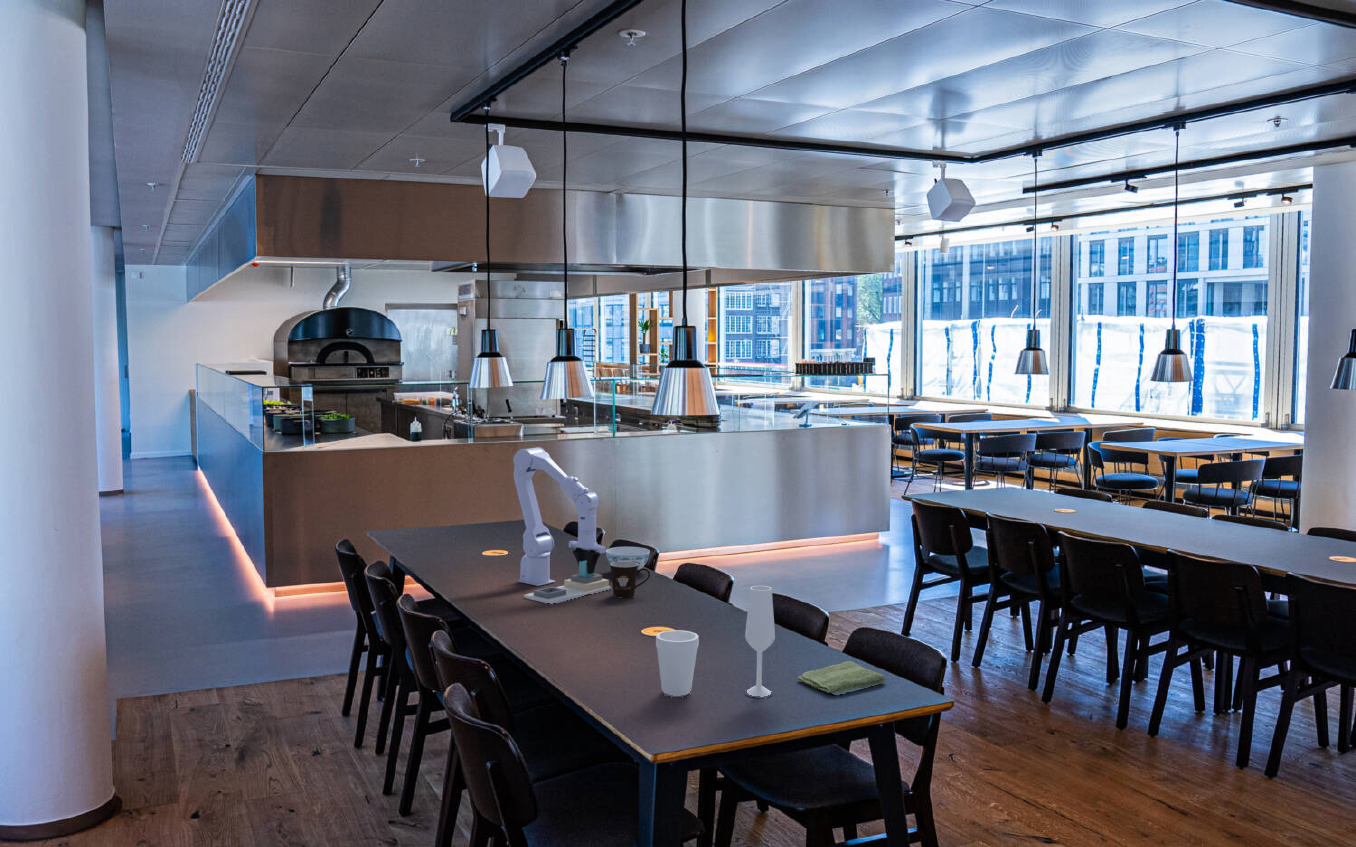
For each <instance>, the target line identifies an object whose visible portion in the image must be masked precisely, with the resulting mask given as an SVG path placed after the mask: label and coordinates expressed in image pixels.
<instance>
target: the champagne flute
mask: <svg viewBox="0 0 1356 847" xmlns="http://www.w3.org/2000/svg"><path fill="white" fill-rule="evenodd" d="M749 589H750V590H749V598H748V606H747V615H746V624H745V634H744V638H745V640H746V642H747V643H748V645H749V646H750V647H751V648H752V649H753V650H754V651H756V677H755V678H756V682H755V684H756V685H754V686H752V687H749V689H746V690H747V693H748V694H749V695H752V696H760V697H764V696H768V695H770V694H771V692H772V691H771V690H770V689H767V688H766V687H764V686H763V685H762V684H763V683H762V679H763V678H762V677H763V676H762V675H763V652H764V651H765V650H767V649H768V648H769V647H770V646H771V645H772V644H773V643H774V641H775V640H776V633H775V618H774V617H775V616H774V603H773V591H772V590H773V589H772V587H770V586H767V585H754V586H750V588H749Z"/></svg>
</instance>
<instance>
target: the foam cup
mask: <svg viewBox="0 0 1356 847" xmlns="http://www.w3.org/2000/svg"><path fill="white" fill-rule="evenodd" d="M699 642H700V641H699V635H698V634H697V633H696V632H693V631H689V630H681V629H679V630H677V629H676V630H663V631H661V632H657V634H656V636H655V646H656V651H657V660H658V667H659V677H660V685H661V692H662V691H663V692H664V693H666V694H669V695H673V696H681V695H686V694H688V693H690V691H692V688H693V679H694V672H695V668H696V667H695V666H696V660H697V655H698V654H697V652H698V648H699V645H700V644H699ZM690 694H691V693H690Z"/></svg>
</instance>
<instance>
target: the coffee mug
mask: <svg viewBox="0 0 1356 847" xmlns="http://www.w3.org/2000/svg"><path fill="white" fill-rule="evenodd" d="M609 564H610V563H609ZM609 567H610V571H611V572H610V573H611V574H610V576H611V583H612V593H613V594H612V595H613V597H614V596H616V597H622V598H621V599H630V598H629V597H632V598H634V597H635V592H636V589H637V588H638V587H639V586H642V585H643V584H645V583H646V582H647V581H648V580H649V579H650V576H651V573H650V571H649V570H648V569H647V568H643V567H642V568H641V569H639V570H638V563H635V562H628V561H620V562H613V563H611V564H610V566H609ZM642 571H645V572H646V573H647V574H648V576H647V578H646V579H644V580H643V581H641V582H640V583H638V584H637V576H638V575H639V574H640V572H642ZM633 596H634V597H633ZM616 597H615V598H616Z"/></svg>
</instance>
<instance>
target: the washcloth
mask: <svg viewBox="0 0 1356 847" xmlns="http://www.w3.org/2000/svg"><path fill="white" fill-rule="evenodd" d="M796 680H797V681H799V680H800V681H799V682H801V681H802V682H804V683H803V684H805V683H806V684H805V685H807V684H809V685H808V686H810V685H811V686H810V687H812V688H813V687H814V688H813V689H817V688H818V689H817V690H819V689H820V690H821V691H823V692H826V693H828V694H831V693H833V692H834V693H843V692H845V691H849V690H852V689H857V688H865V687H868V686H872V685H876V684H880V683H882V684H883V682H884V683H885V681H886V676H885V675H884V674H882V673H879V672H877V671H873V670H871V669H869V668H866V667H862V665H860V664H857V663H855V662H853V661H850V660H847V661H844V662H841V663H839V664H833V665H829V666H826V667H821V668H818V669H814V670H808V671H805V672H804V673H801V675H799V676H798V677H797V679H796ZM802 682H801V683H802ZM829 692H831V693H829Z"/></svg>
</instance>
